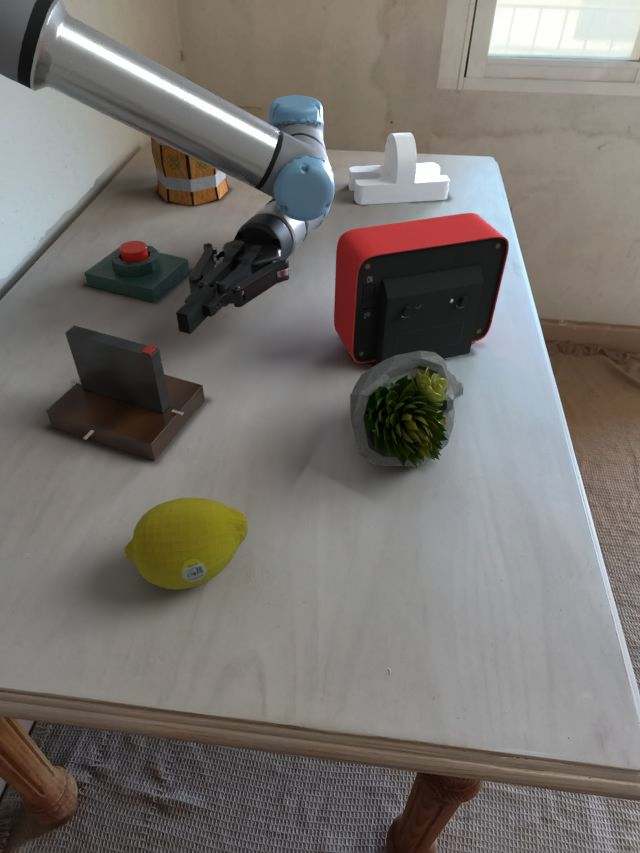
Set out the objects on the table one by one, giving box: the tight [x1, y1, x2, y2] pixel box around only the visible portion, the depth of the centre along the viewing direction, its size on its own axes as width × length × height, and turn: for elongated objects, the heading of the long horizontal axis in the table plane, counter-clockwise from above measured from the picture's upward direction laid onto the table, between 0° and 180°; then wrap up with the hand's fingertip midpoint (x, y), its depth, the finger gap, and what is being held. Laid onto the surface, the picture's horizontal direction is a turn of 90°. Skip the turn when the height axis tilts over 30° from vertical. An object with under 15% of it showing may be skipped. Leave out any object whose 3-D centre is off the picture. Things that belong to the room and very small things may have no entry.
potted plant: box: [349, 350, 464, 470], centre depth 66 cm, size 12×13×15 cm
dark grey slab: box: [64, 325, 170, 413], centre depth 70 cm, size 11×2×8 cm, turn 68°
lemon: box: [124, 497, 248, 591], centre depth 56 cm, size 11×8×8 cm
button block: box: [83, 244, 190, 303], centre depth 96 cm, size 12×10×4 cm
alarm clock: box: [333, 212, 510, 366], centre depth 80 cm, size 10×20×16 cm, turn 108°
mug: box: [150, 137, 230, 206], centre depth 119 cm, size 20×14×15 cm
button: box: [118, 240, 149, 263], centre depth 94 cm, size 4×4×2 cm
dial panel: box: [45, 359, 206, 461], centre depth 74 cm, size 15×15×3 cm
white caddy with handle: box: [347, 132, 451, 206], centre depth 119 cm, size 10×18×11 cm, turn 99°
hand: (183, 323), depth 73 cm, fingers closed
